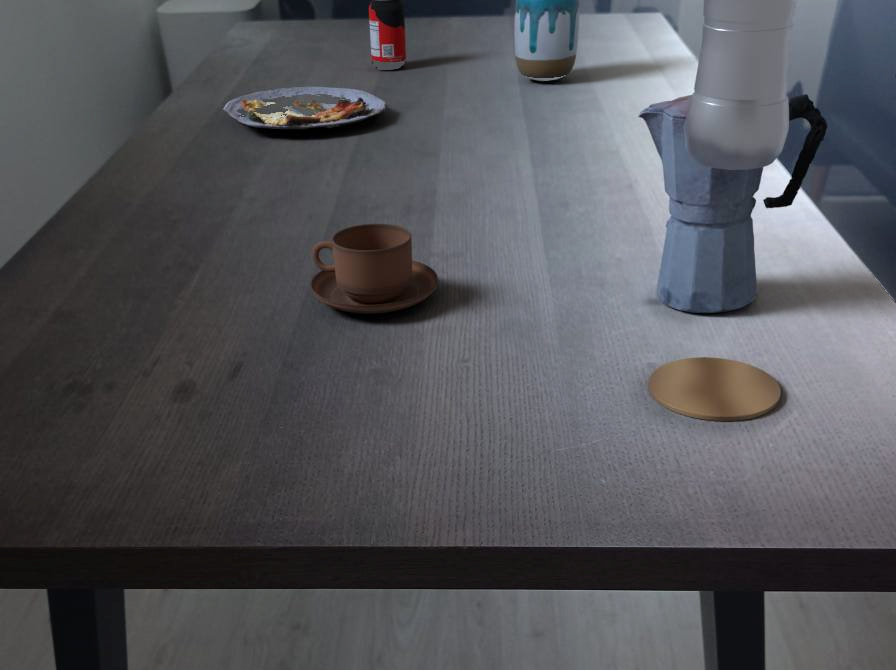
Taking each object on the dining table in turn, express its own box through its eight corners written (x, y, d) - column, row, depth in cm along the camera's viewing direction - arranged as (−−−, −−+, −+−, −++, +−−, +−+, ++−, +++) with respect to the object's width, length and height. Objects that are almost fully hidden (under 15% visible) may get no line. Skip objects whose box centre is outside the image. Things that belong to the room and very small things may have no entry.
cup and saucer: (307, 327, 94) (301, 262, 91) (317, 277, 104) (312, 217, 101) (439, 322, 94) (437, 257, 90) (437, 273, 104) (435, 213, 101)
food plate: (409, 126, 154) (408, 101, 152) (260, 150, 146) (257, 124, 144) (344, 94, 173) (343, 72, 171) (209, 114, 165) (206, 91, 163)
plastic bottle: (774, 185, 67) (827, -183, 56) (669, 176, 69) (700, -177, 58) (790, 157, 72) (841, -186, 61) (691, 150, 74) (724, -181, 63)
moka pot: (626, 274, 102) (643, 58, 91) (790, 281, 99) (828, 59, 88) (622, 313, 94) (640, 82, 83) (801, 322, 91) (843, 83, 80)
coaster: (755, 358, 85) (756, 353, 85) (799, 417, 77) (800, 412, 77) (635, 365, 85) (635, 360, 85) (666, 425, 77) (667, 420, 77)
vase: (537, 90, 170) (540, -39, 160) (501, 79, 178) (502, -45, 168) (589, 81, 175) (595, -46, 164) (552, 71, 182) (556, -51, 172)
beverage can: (406, 71, 187) (403, -2, 181) (371, 72, 187) (367, 0, 181) (406, 64, 193) (403, -7, 186) (372, 65, 193) (368, -6, 186)
